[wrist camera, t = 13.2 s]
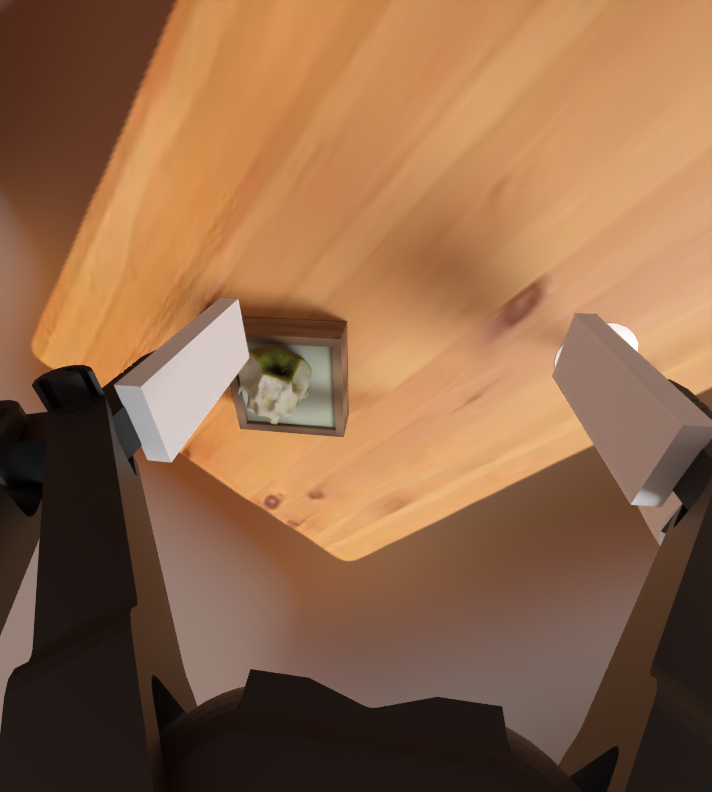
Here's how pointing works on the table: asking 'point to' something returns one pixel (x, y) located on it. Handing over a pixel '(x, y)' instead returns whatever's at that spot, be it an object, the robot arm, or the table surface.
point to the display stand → (327, 383)
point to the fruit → (274, 381)
